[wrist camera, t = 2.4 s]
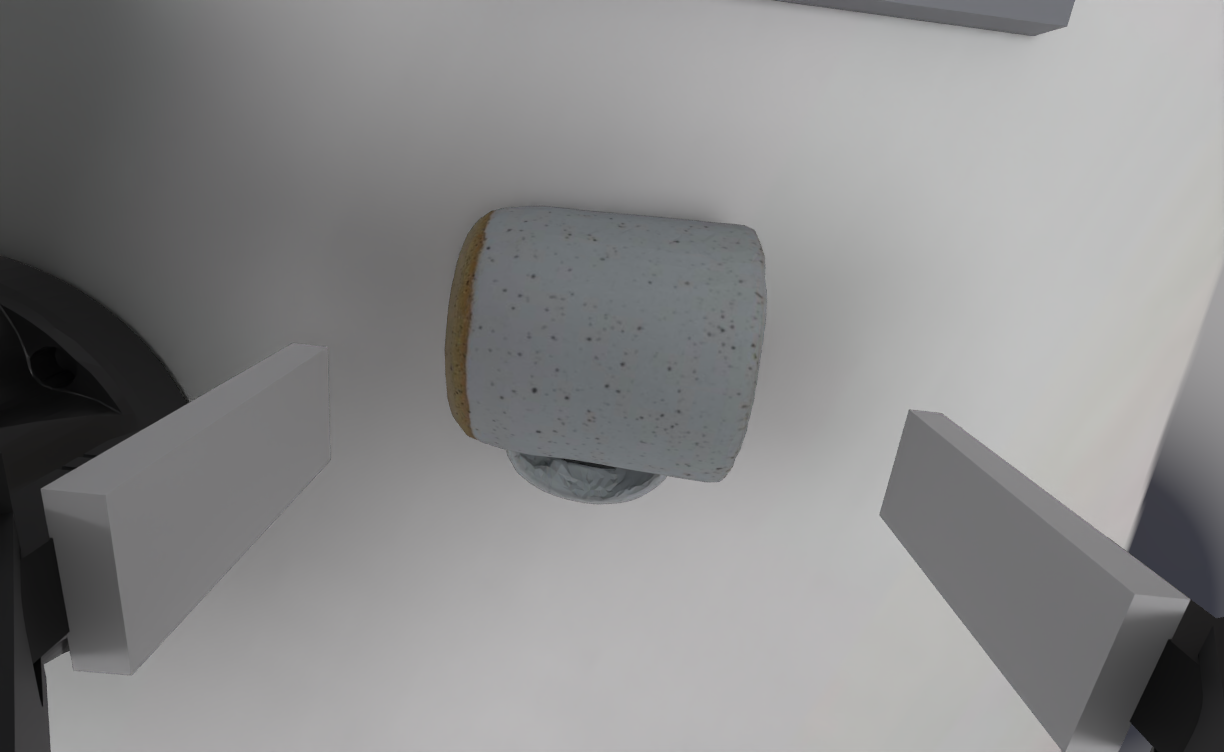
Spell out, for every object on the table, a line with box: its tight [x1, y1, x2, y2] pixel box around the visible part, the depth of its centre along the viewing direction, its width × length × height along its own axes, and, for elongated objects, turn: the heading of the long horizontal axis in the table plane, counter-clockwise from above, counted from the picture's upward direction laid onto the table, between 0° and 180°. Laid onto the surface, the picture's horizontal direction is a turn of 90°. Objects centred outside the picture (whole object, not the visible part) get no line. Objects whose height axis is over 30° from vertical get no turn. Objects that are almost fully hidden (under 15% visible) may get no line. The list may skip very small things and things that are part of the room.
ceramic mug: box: [445, 206, 767, 504], centre depth 20 cm, size 11×8×8 cm
